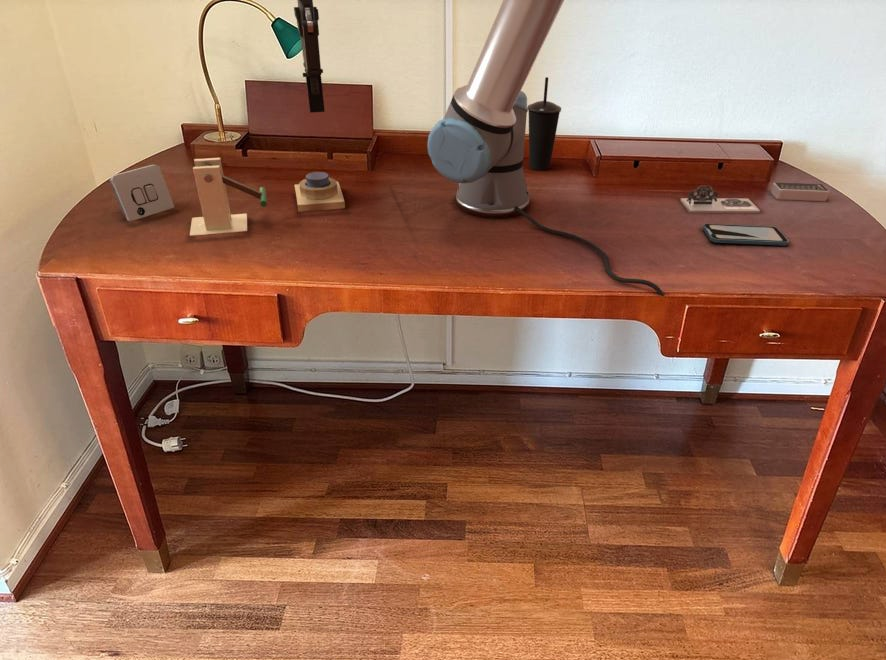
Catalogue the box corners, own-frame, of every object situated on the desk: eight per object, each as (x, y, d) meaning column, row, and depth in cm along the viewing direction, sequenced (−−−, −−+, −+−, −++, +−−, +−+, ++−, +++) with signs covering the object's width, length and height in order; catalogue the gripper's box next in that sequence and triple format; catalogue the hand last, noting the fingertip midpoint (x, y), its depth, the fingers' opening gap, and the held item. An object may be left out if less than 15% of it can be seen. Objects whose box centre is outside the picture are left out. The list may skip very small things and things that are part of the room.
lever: (263, 196, 130) (268, 185, 129) (264, 210, 125) (269, 199, 124) (199, 168, 124) (204, 156, 123) (197, 182, 119) (202, 170, 118)
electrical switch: (131, 227, 128) (115, 178, 123) (118, 222, 131) (101, 173, 126) (177, 212, 134) (163, 165, 129) (163, 208, 137) (149, 161, 132)
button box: (339, 192, 145) (337, 172, 142) (345, 213, 136) (343, 191, 134) (296, 195, 143) (293, 175, 140) (299, 216, 134) (296, 195, 132)
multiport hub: (770, 191, 153) (773, 181, 152) (819, 193, 153) (822, 183, 152) (776, 199, 149) (779, 189, 148) (826, 201, 149) (830, 191, 148)
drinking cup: (539, 159, 166) (547, 72, 155) (562, 168, 161) (571, 79, 150) (516, 165, 162) (522, 76, 151) (538, 174, 157) (546, 83, 146)
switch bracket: (248, 219, 133) (236, 153, 125) (248, 236, 126) (236, 168, 119) (193, 223, 130) (178, 157, 123) (190, 241, 124) (174, 172, 116)
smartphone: (790, 242, 129) (712, 239, 129) (789, 247, 130) (711, 244, 129) (776, 226, 135) (701, 223, 135) (774, 230, 136) (700, 227, 135)
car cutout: (689, 212, 142) (694, 191, 139) (680, 200, 148) (684, 180, 145) (759, 212, 143) (765, 192, 141) (747, 200, 149) (753, 180, 146)
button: (328, 180, 139) (327, 171, 138) (330, 188, 136) (329, 178, 135) (306, 181, 138) (305, 172, 137) (307, 189, 135) (306, 180, 134)
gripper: (277, -34, 122) (294, 103, 135) (281, -25, 112) (299, 121, 125) (319, -34, 124) (333, 101, 137) (327, -26, 113) (341, 119, 127)
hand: (317, 111), depth 131 cm, fingers closed
